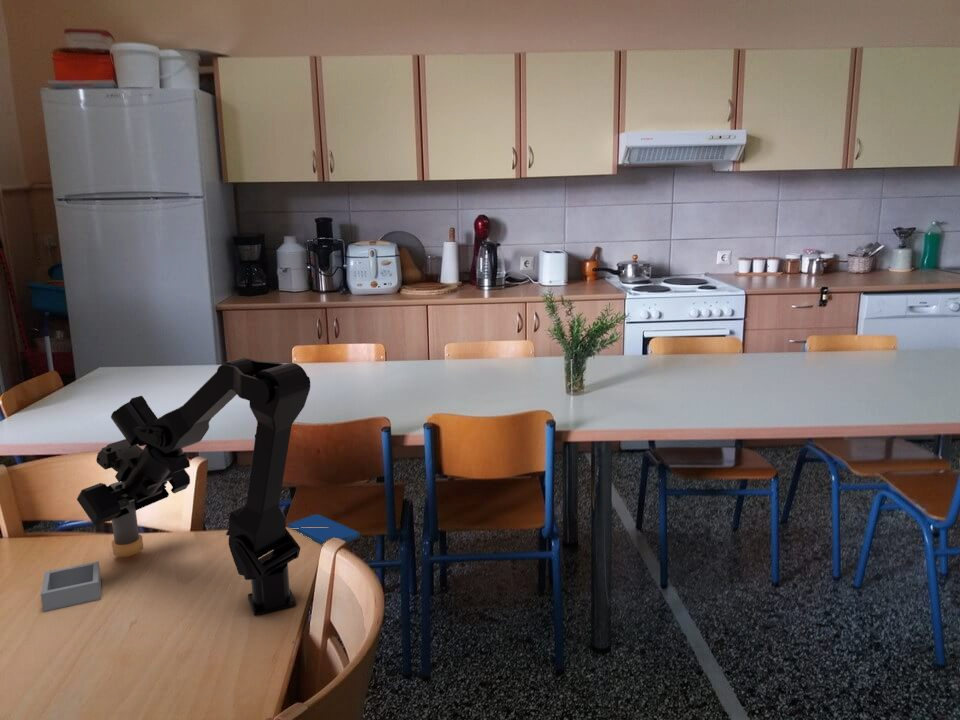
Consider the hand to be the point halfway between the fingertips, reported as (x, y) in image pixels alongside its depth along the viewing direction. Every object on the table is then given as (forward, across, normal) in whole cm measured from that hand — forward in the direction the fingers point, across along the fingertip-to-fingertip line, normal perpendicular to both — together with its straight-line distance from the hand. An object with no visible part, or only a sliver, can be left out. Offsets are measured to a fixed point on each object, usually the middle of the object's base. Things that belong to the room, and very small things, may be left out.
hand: (118, 514), depth 132 cm
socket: (+2, +13, +9) cm, 16 cm away
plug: (+4, 0, +6) cm, 7 cm away
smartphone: (-12, -24, +24) cm, 36 cm away
